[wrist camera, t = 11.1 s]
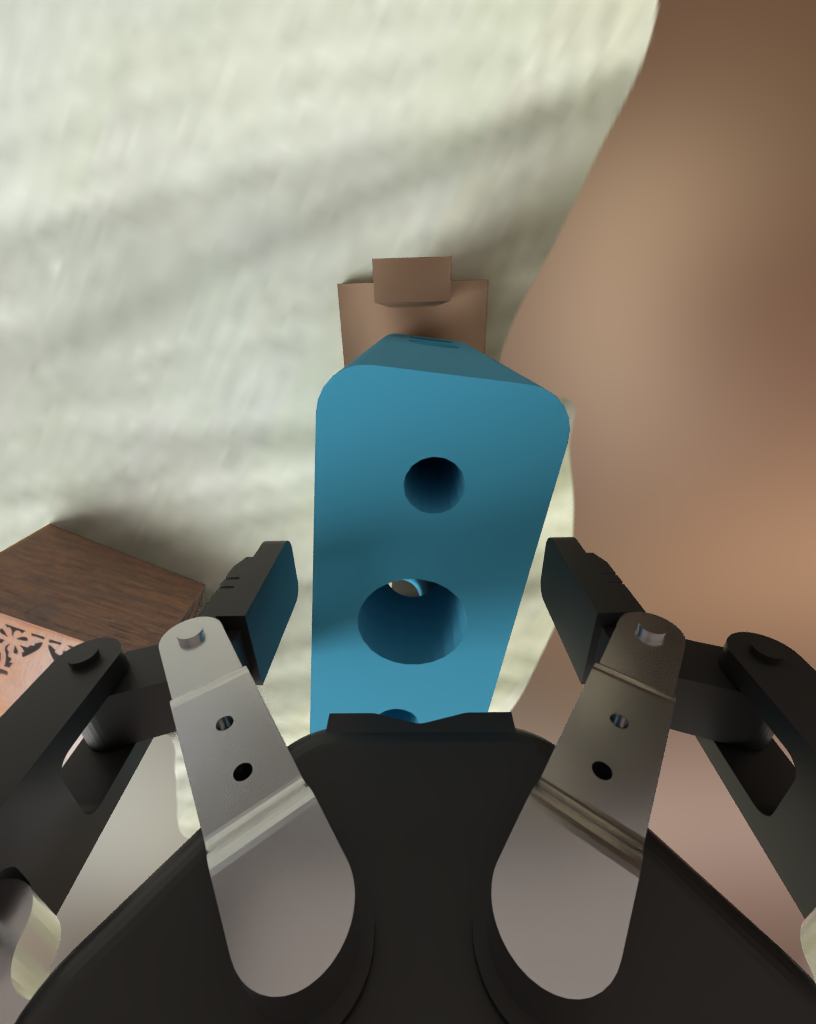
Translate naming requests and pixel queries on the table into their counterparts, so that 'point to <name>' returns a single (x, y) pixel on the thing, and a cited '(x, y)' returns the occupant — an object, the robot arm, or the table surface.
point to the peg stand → (412, 313)
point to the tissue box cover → (79, 604)
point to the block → (424, 525)
